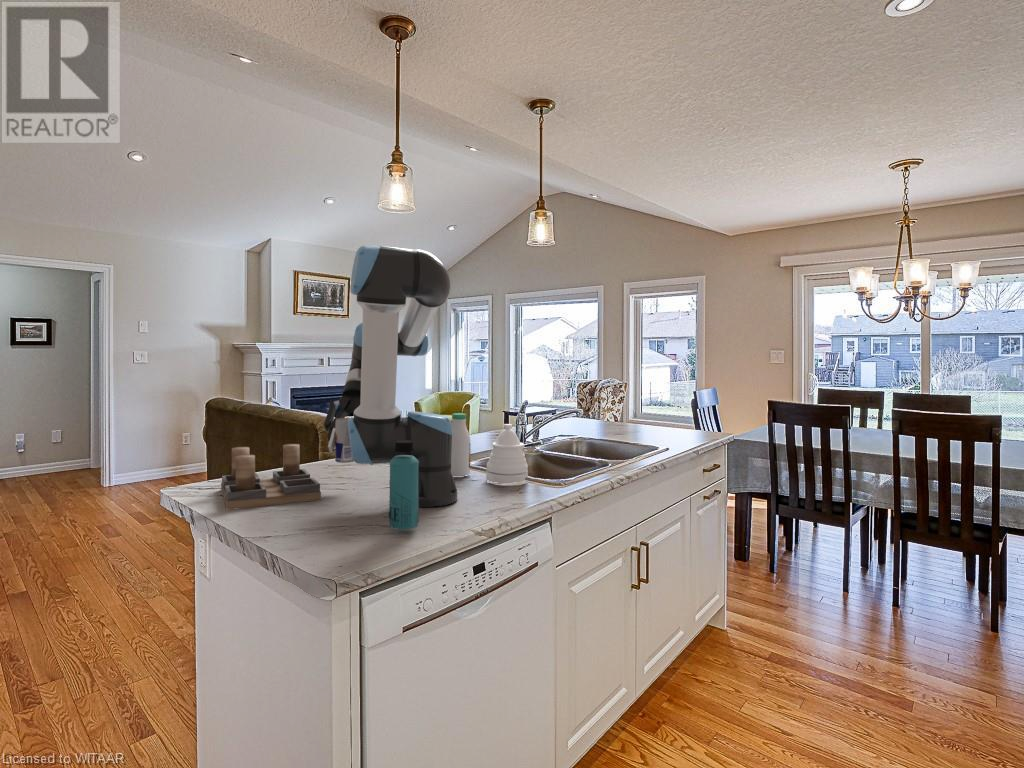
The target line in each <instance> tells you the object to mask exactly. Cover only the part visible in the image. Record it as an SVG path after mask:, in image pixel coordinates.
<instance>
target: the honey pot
mask: <svg viewBox="0 0 1024 768" xmlns="http://www.w3.org/2000/svg"><path fill="white" fill-rule="evenodd" d="M512 427H513V423H504V424H503V428H504V429H503V430H501V432H500V433H499V435H498V436H497V438H496V440H495V441H494V442H492V444H491V445H492V450H491V453H489V458H488V462H487V463H486V473H485V474H486V476H485V480H486V479H487V480H489V481H492V482H498V483H513V482H520V481H523V480H525V478H526V477H528V478H529V469H528V467H529V465H528V463H527V458H526V455H525V453H524V450H523V448H524V447H525V445H526V444H525V443H523V442H521V441H520V439H519V437H518V435H517V433H516V432H515V431H514V430H513V429H512Z"/></svg>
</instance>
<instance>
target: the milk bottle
mask: <svg viewBox="0 0 1024 768" xmlns="http://www.w3.org/2000/svg"><path fill="white" fill-rule="evenodd" d="M466 421H467V414H466V413H463V412H459V413H457V412H456V413H452V414H451V422H452V433H453V435H452V462H451V471H452V475H453V476H465V475H468V474H470V475H471V455H472V454H471V447H472V446H471V445H472V444H471V435H470V433H469V430H468V428H467V424H466V423H467V422H466Z"/></svg>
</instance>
